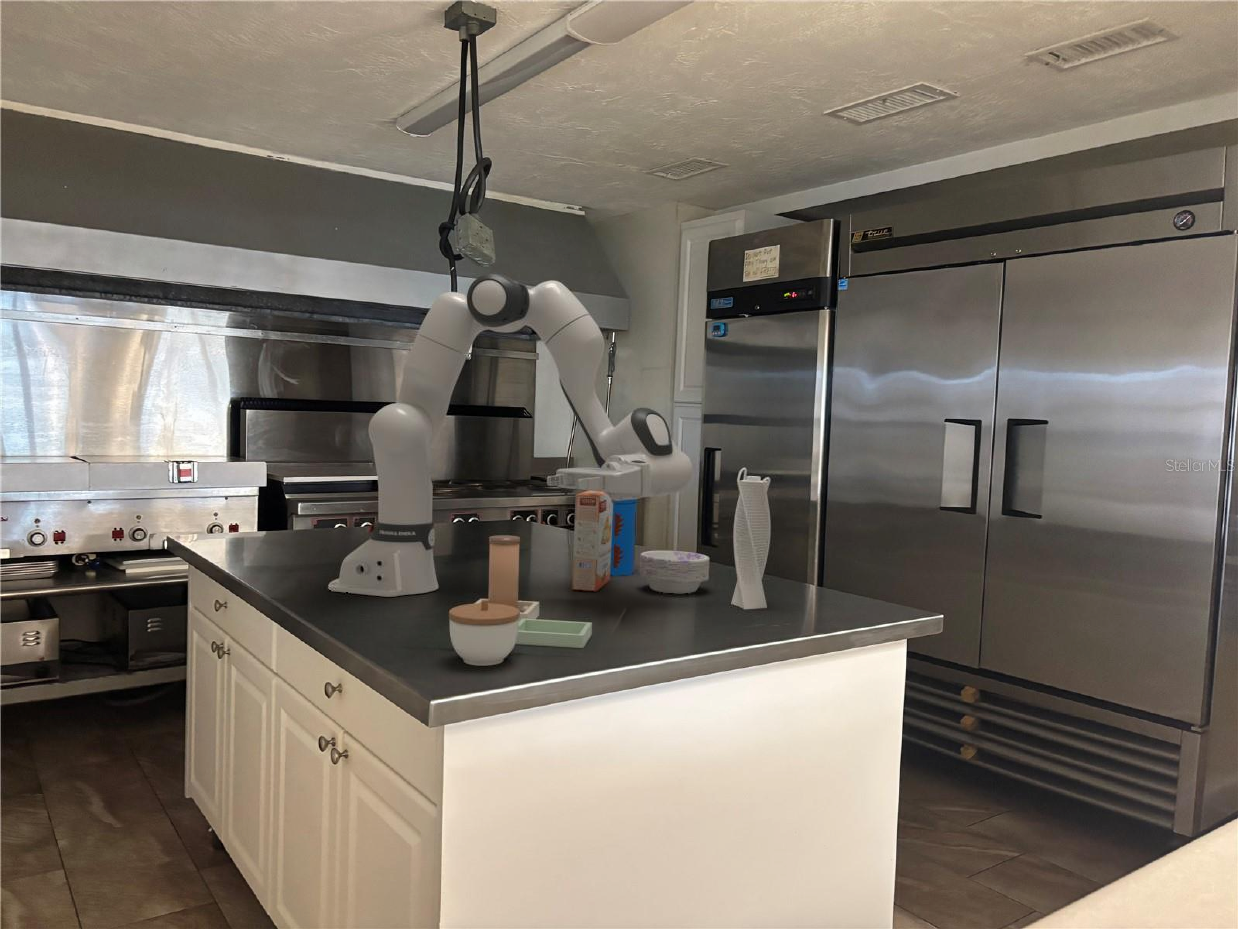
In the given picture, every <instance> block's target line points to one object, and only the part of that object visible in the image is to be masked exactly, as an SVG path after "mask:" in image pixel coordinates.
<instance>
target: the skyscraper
mask: <svg viewBox="0 0 1238 929" xmlns="http://www.w3.org/2000/svg"><path fill="white" fill-rule="evenodd" d="M743 471H744V472H743ZM747 472H748V470H747V468H746V467H742V468H741V469H740V470H739V471H738V475H737V478H736V479H737V480H736V483H737V487H738V492H739V495H738V500H737V502H736V503H737V504H736V508H735V514H734V521H733V530H732V531H733V534H732V535H733V537H732V538H733V540H732V542H733V555H734V564H735V572H736V578H737V581H736V585H735V588H734V592H733V595H732V600H731V605H734V606H736V607H738V606H739V607H738V608H741V609H743V610H755V609H767V608H768V606H767V601H766V596H765V590H764V586H763V582H762V580H763V577H764V572H765V569H766V566H767V565H766V564H767V559H768V555H769V551H770V550H769V549H770V542H771V530H772V529H771V513H770V506H769V498H768V490H769V486H770V484H771V478H770V477H769V476H768V477H767V476H766V477H765V478H764V479H762V480H761V476H756V475H755V476H753V475H748V476H747ZM742 473H743V478H742V480H740V479H741V475H742Z"/></svg>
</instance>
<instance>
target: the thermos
mask: <svg viewBox="0 0 1238 929" xmlns="http://www.w3.org/2000/svg"><path fill="white" fill-rule="evenodd" d="M594 468H600V467H599V466H598V467H595V466H594ZM636 526H637V499H631V500H621V501H615V500H613V517H612V541H611V564H610V575H613V576H612V577H621V576H620V575H627V576H631V575H633V574H634V569H635V558H636V557H635V556H636V555H635V554H636V552H635V551H636V528H637V527H636ZM632 573H633V574H632ZM617 575H619V576H617Z"/></svg>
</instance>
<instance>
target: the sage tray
mask: <svg viewBox="0 0 1238 929" xmlns="http://www.w3.org/2000/svg"><path fill="white" fill-rule="evenodd" d="M592 628H593V622H588V621H585V622H584V621H571V620H570V621H569V620H553V619H552V620H551V619H537V618H536V619H521V620H520V621H519V628H518V635H517V639H516V643H515V645H525V646H539V647H541V646H542V647H557V648H571V649H573V648H574V649H584V648H585V646H586V644H587V643H588V641H589V639H590V638H591V636H592V633H593V629H592Z"/></svg>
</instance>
